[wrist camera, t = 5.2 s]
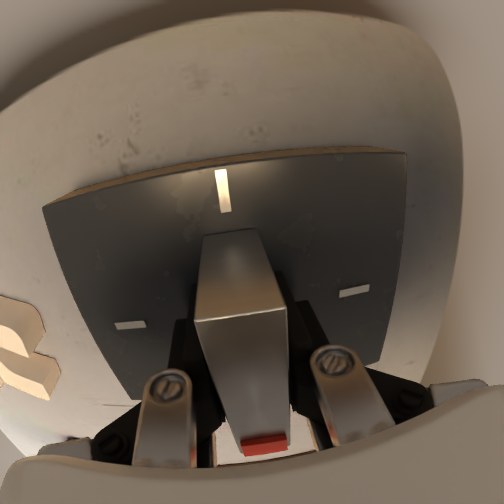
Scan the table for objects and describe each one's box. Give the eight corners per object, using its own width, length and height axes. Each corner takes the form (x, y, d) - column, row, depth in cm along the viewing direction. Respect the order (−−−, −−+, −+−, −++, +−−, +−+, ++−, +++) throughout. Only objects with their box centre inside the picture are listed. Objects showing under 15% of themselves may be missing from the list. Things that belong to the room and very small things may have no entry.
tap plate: (369, 145, 11) (409, 152, 8) (359, 329, 16) (380, 363, 13) (74, 189, 11) (38, 208, 8) (140, 363, 15) (130, 402, 12)
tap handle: (202, 235, 9) (192, 328, 5) (256, 227, 9) (290, 313, 5) (231, 368, 12) (241, 459, 7) (270, 362, 12) (291, 451, 8)
